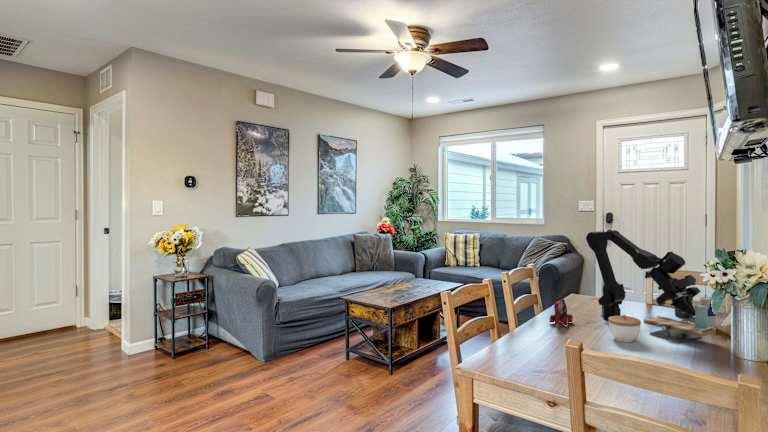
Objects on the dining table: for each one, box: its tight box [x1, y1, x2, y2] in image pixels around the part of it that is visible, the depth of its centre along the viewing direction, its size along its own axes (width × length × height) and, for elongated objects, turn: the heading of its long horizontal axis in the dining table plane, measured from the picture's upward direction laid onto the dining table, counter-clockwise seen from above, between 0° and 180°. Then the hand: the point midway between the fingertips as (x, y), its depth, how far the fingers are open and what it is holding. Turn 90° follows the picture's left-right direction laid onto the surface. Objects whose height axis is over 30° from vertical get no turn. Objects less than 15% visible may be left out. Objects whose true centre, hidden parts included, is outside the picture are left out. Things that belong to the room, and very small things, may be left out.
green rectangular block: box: [692, 304, 711, 331], centre depth 155 cm, size 4×6×9 cm, turn 114°
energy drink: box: [698, 296, 717, 329], centre depth 172 cm, size 5×5×12 cm
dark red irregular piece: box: [549, 298, 574, 325], centre depth 183 cm, size 7×12×10 cm, turn 139°
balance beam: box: [643, 315, 717, 338], centre depth 163 cm, size 21×9×2 cm, turn 24°
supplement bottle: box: [674, 289, 694, 319], centre depth 189 cm, size 7×7×12 cm
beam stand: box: [649, 318, 702, 344], centre depth 164 cm, size 11×14×5 cm
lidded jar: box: [607, 314, 642, 343], centre depth 161 cm, size 11×11×9 cm
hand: (695, 315), depth 157 cm, fingers closed
